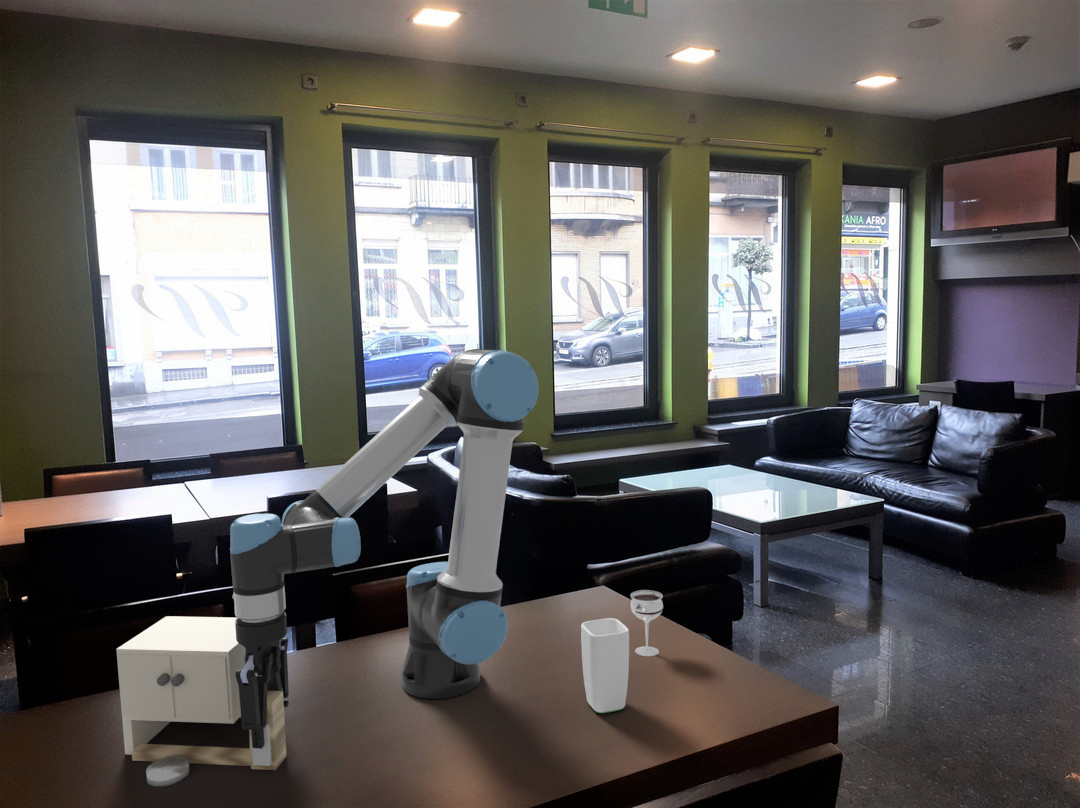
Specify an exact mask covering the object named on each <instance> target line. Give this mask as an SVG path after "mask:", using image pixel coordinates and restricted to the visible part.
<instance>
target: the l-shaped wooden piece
mask: <svg viewBox="0 0 1080 808" xmlns="http://www.w3.org/2000/svg"><path fill="white" fill-rule="evenodd" d="M284 701H285V699H284V700H283V691H267V715H266V724H269V726H270V743H271V759H272V764H271V765H270V766H260V765H253V755H252V740H251V730H248V732H249V733H248V736H249V737H248V738H249V748H245V747H228V746H227V747H226V746H225V747H223V746H202V745H201V746H199V745H182V744H181V745H178V744H177V745H176V744H156V743H155V744H154V743H146V744H140V745H139V746H138V747H136V748H135V749H134V750H133V751H132V755H131V759H132V761H133V762H134V761H136V762H154V761H156V760H158V759H161V758H163V757H167V756H172V755H182V756H185V757H187V758H188V760H189V764H200V765H223V766H240V767H241V766H244V767H248V766H249V767H250V768H251V770H266V771H277V769H278V767H280V766H281V764H282V763H283V761H284V760H285V758H287V757H288V756H287V741H286V740H287V738H286V720H285V707H284Z"/></svg>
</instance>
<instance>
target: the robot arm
mask: <svg viewBox="0 0 1080 808" xmlns="http://www.w3.org/2000/svg"><path fill="white" fill-rule="evenodd" d="M539 392H540V386H539V381H538V377H537V374H536V372H535V370H534V368H533V367H532V365H531V364H530V363H529V361H527V359H525V358H524V357H522V356H521V355H519V354H517V353H513V352H511V351H507V350H503V349H483V348H482V349H481V348H474V349H473V348H472V349H468V350H464V351H463V352H461V353H458V354H457V355H455V356H454V357H453V358H451V359H450V360H448V362H446V363H445V364H444V365H443V366H442V367H441V368H440V369H439V370H437V372H435V373H434V374H433V375H432V376H431V377H430V378H429V379H428V380H427V381H425V383H423V385H421V386H420V387H419V388H418V396H417V397H416V398H415V399H414V400H412V402H411V403H410V404H409V405H408V406H407V407H406V408H404V409H403V410H402V411H401V412H400V413H398V415H397V416H395V417H394V418H393V419H392V420H391V421H390V422H389V423H387V424H386V426H384V427H383V428H382V429H381V430H380V431H379V432H377V434H376V435H375V436H374V437H373V438H371V439H370V440H369V441H368V442H367V443H365V445H364V446H362V447H361V448H360V449H359V450H358V451H357V452H356V453H354V455H353V456H351V458H350V459H348V460H347V461H346V462H345V463H344V464H343V465H342V466H341V467H340V468H338V469H337V470H336V471H335V472H334V473H332V475H331V476H329V478H327V479H326V480H325V481H324V482H323V483H322V484H321V485H320V486H319V487H318V488H316V489H315V490H314V491H313V492H312V493H311V494H309V495H308V496H307V497H306V498H305V499H304V500H302V499H301V500H298V501H295V502H292V503H291V504H289V506H287V508H286V509H285V511H284V512H283V514H282V517H281V518H280V516H278V515H277V514H274V513H253V514H247V515H243V516H241V517H238V518H236V519H235V520H234V521H233V522H232V523H231V524H230V527H229V532H230V533H229V536H230V541H229V543H230V544H229V545H230V547H229V551H230V552H229V553H230V565H231V576H232V577H231V578H232V590H233V594H232V595H231V596H232V599H233V602H234V615H235V618H237V619H236V620H235V628H236V640H237V642H238V643H239V644H241V645H242V646H244V647H245V649H246V653H245V664H246V665H245V666H244V668H243V670H237V671H236V679H237V682H238V686H239V698H240V709H241V718H240V720H241V728H242V730H248V731H249V730H251V740H252V755H253V765H260V766H270V765H271V764H272V759H271V743H270V726H269V724H266V715H267V691H283V700H284V708H287V707H289V703H290V702H289V700H285V699H288V697H289V694H290V692H289V691H290V690H289V672H288V671H289V670H288V669H289V668H288V665H289V664H288V648H289V647H288V645H289V638H288V637H286V635H287V634H288V626H287V614H286V612H285V610H286V608H287V606H286V592H285V580H284V579H285V577H284V576H285V574H293V573H300V572H305V571H314V570H320V569H326V568H327V569H328V568H332V567H333V568H334V567H336V568H339V567H341V566H344V565H349V564H353V563H356V562H357V561H358V559H359V557H360V556H361V549H362V548H361V547H362V545H361V535H360V529H359V526H358V523H357V522H356V520H355V519H354V518H353V517H351V515H353V513H355V512H356V511H357V510H358V509H359V508H360V507H361V506H362V505H363V504H364V503H365V502H366V501H368V500H369V499H370V498H371V497H372V496H373V495H375V493H376V492H377V491H379V489H380V488H381V487H382V486H384V485H385V484H386V483H387V482H388V481H389V480H390V479H391V478H392V477H393V476H394V475H395V474H397V473H398V472H399V471H400V470H401V469H402V468H403V467H404V466H405V465H406V464H407V463H408V462H409V461H411V460H412V459H413V458H414V457H415V456H416V455H417V454H418V453H419V452H420V451H421V450H423V449H424V448H425V447H427V445H428V444H429V443H430V442H431V441H432V440H433V439H435V437H437V436H438V435H439V434H440V432H442V431H443V430H444V429H445V428H446V427H455V426H456V425H457V426H458V427H459V429H460V430H461V431H462V433H463V440H462V447H461V448H462V449H461V454H460V455H461V457H460V464H459V473H458V480H457V487H456V497H455V498H456V499H455V503H454V504H455V505H454V511H453V520H452V528H451V535H450V536H451V537H450V543H449V551H448V561H437V562H430V563H424V564H420V565H417V566H414V567H412V568H411V569H410V570H409V571H408V572H407V576H406V585H405V588H406V593H407V594H406V598H407V600H406V601H407V614H408V615H407V616H408V617H407V619H408V640H409V641H408V642H409V643H408V644H409V645H408V648H407V652H406V654H405V655H406V656H405V659H404V663H403V666H402V669H401V686H402V689H403V691H405V692H406V693H408V694H409V695H410V696H414V697H417V698H421V699H430V700H437V699H447V698H453V697H457V696H458V697H459V696H460V695H463V694H466V693H468V692H470V691H471V690H473V689H475V687H477V686H478V685H479V684H480V682H481V667H480V663H483V662H485V661H487V660H490V659H491V657H492V656H494V654H496V653H498V651H499V650H500V649H501V647H502V646H503V645H504V643H505V641H506V637H507V635H508V630H509V623H508V619H507V615H506V613H505V611H504V609H503V608H502V607H501V603H502V602H501V601H502V594H503V593H502V592H503V585H504V584H503V582H502V580H501V579H500V578H499V577H498V575H497V565H498V564H497V563H498V556H499V550H500V540H501V533H502V527H503V520H504V519H503V518H504V510H505V503H506V502H505V501H506V495H507V486H508V478H509V472H510V465H511V464H510V463H511V455H512V448H513V442H514V439H515V438H516V437H518V436H519V435H520V434H521V433H522V432H523V430H524V424H525V417H526V416H527V415H528V414H529V413H530V411H532V410H533V409H534V407H535V406H536V404H537V401H538V396H539Z"/></svg>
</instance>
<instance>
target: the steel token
mask: <svg viewBox="0 0 1080 808" xmlns="http://www.w3.org/2000/svg"><path fill="white" fill-rule="evenodd" d="M145 773H146V774H145V775H146V783H147V784H148V785H149V786H152V787H155V788H157V787H166V786H167V787H168V786H171V785H174V784H176V783H179V782H180V781H182V780H184V779H185V778H186V777H187V776H188V775H189V773H190V763H189V760H188V758H187V757H185V756H182V755H172V756H167V757H163V758H161V759H158V760H156V761H152V762H151V763H150V764H149V765H148V766H147V768H146V769H145Z"/></svg>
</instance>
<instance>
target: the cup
mask: <svg viewBox="0 0 1080 808" xmlns="http://www.w3.org/2000/svg"><path fill="white" fill-rule="evenodd" d="M580 628H581V629H580V631H581V632H580V634H581V636H580V637H581V639H580V640H581V643H580V644H581V660H582V673H583V674H582V675H583V683H584V689H585V694H586V695H585V696H586V701H587V703H588V704H589V705H590V707H591V708H592V709H593V711H595V712H596V713H598V714H607V713H608V714H609V713H612V712H613V713H614V712H618V711H622V709H624V708H625V706H626V702H627V701H626V700H627V692H628V682H629V672H630V671H629V666H630V663H629V662H630V630H629V628H628V627H627V626H626V625H625V624H624V623H622V622H621V620H619V619H617V618H613V617H608V618H600V619H593V620H587V621H584V622H582V623H581V625H580Z"/></svg>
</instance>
